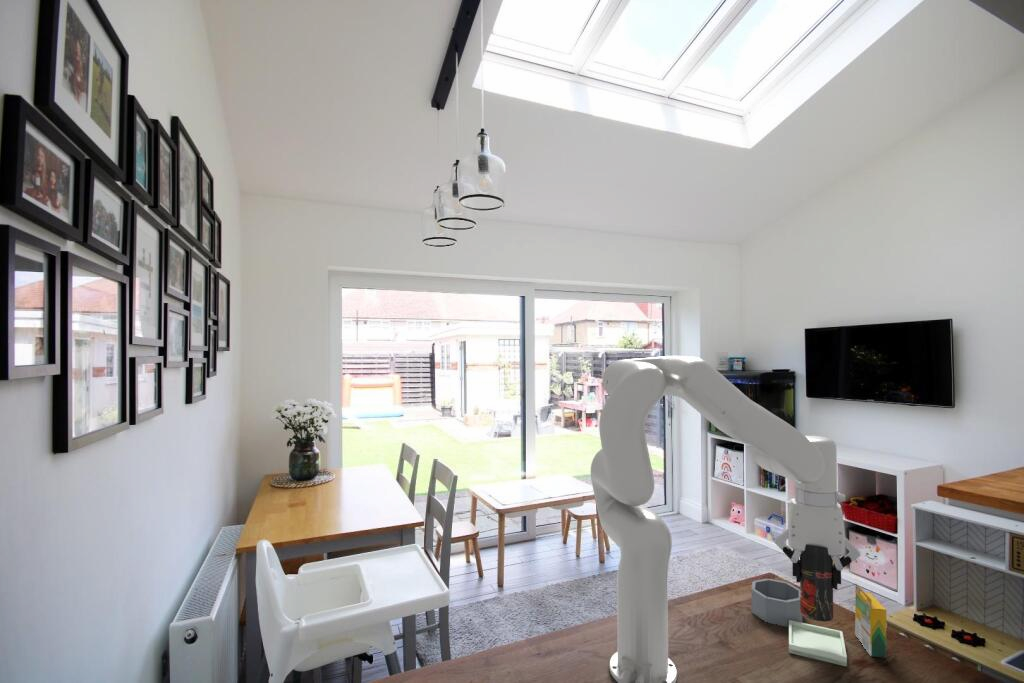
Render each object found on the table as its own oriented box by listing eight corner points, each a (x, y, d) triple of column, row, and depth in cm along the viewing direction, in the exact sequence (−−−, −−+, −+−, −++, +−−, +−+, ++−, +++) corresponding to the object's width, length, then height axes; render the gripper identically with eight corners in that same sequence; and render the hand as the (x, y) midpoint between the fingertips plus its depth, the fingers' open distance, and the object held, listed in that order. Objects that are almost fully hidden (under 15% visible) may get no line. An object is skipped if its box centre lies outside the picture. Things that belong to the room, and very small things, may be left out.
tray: (846, 666, 102) (846, 657, 102) (788, 652, 107) (788, 643, 107) (842, 639, 111) (842, 631, 111) (788, 627, 116) (788, 619, 116)
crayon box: (887, 658, 105) (887, 600, 105) (870, 656, 105) (870, 599, 105) (870, 637, 112) (870, 583, 112) (854, 636, 113) (854, 582, 112)
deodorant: (839, 621, 106) (839, 547, 106) (809, 621, 106) (809, 548, 106) (822, 606, 112) (822, 536, 112) (794, 606, 112) (794, 536, 112)
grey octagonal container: (802, 630, 115) (802, 605, 115) (750, 618, 120) (750, 594, 120) (801, 608, 124) (801, 584, 124) (753, 598, 129) (753, 575, 129)
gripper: (863, 497, 108) (863, 584, 108) (769, 486, 116) (770, 567, 116) (868, 508, 101) (868, 600, 102) (768, 496, 109) (769, 582, 110)
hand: (816, 582), depth 109 cm, fingers closed on deodorant, 6 cm apart
